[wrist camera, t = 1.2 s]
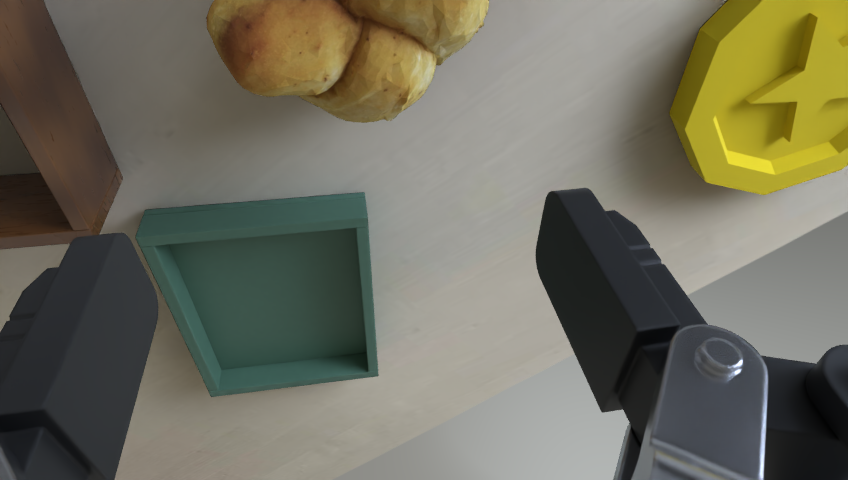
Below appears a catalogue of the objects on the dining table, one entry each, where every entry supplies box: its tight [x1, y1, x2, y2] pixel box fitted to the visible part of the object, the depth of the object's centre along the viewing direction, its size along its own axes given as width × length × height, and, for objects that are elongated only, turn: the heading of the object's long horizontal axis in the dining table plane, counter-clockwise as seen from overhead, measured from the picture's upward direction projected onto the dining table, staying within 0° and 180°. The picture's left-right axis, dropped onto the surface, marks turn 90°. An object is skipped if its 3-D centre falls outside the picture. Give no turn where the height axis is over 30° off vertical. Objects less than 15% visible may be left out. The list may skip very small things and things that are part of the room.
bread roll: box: [206, 0, 489, 123], centre depth 23 cm, size 13×10×8 cm
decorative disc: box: [669, 0, 848, 195], centre depth 33 cm, size 17×18×2 cm
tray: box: [135, 192, 378, 397], centre depth 39 cm, size 18×14×3 cm
